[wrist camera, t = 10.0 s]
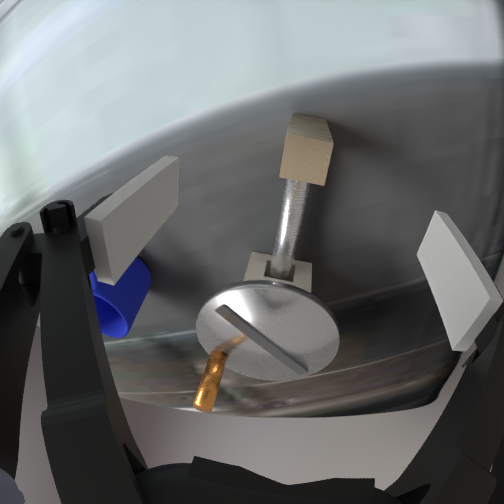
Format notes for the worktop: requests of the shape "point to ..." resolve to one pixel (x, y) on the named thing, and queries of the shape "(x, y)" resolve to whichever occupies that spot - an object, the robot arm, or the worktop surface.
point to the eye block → (260, 271)
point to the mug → (121, 299)
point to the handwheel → (263, 334)
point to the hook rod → (299, 184)
